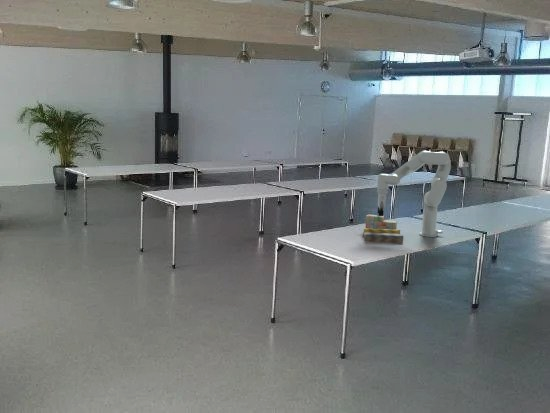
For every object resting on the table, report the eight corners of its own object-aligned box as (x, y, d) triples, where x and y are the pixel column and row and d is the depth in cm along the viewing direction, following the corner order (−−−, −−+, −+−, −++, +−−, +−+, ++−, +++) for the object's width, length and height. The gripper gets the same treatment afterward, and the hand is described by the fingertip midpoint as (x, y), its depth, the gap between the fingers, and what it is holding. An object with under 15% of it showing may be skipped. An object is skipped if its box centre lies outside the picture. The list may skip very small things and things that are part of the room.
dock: (399, 236, 378) (399, 229, 377) (402, 243, 360) (403, 236, 359) (363, 235, 381) (363, 228, 380) (365, 241, 362) (365, 234, 361)
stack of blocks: (396, 234, 388) (397, 217, 386) (394, 235, 382) (395, 218, 380) (367, 230, 397) (368, 214, 395) (364, 232, 392) (365, 215, 390)
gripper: (388, 193, 376) (386, 217, 379) (386, 189, 393) (384, 212, 396) (377, 192, 376) (375, 216, 380) (376, 189, 393) (374, 212, 396)
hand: (380, 214), depth 388 cm, fingers open, 9 cm apart
